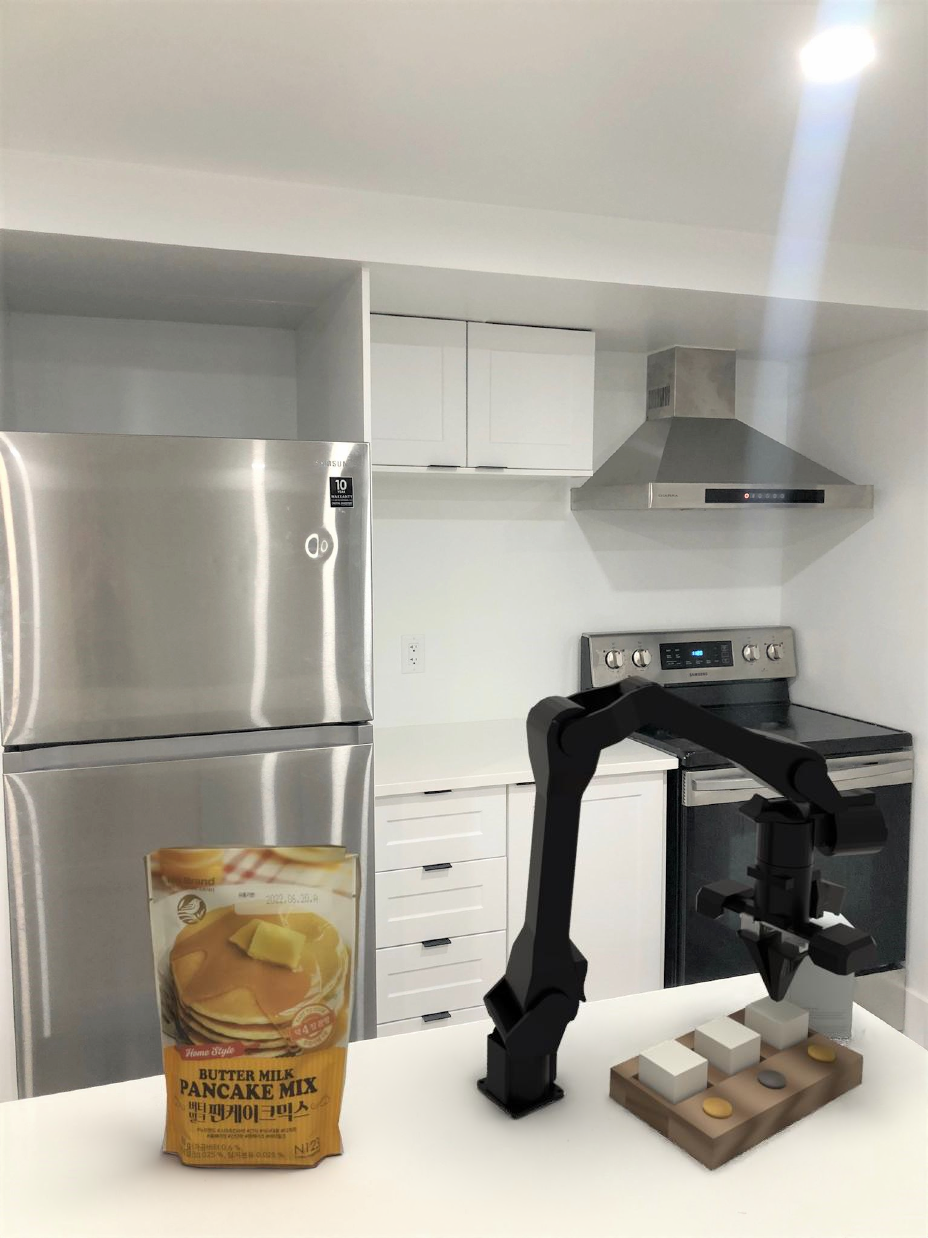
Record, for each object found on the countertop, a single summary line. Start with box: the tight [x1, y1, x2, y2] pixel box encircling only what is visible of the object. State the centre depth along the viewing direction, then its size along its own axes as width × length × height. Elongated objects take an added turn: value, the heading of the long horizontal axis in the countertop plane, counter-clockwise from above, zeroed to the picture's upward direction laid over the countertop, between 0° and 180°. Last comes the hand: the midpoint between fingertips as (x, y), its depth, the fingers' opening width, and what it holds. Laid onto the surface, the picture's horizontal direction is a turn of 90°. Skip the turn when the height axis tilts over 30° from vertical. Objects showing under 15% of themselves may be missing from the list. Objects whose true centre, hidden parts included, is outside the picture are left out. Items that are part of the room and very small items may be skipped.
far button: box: [744, 995, 809, 1051], centre depth 100 cm, size 5×5×3 cm
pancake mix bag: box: [142, 843, 362, 1170], centre depth 84 cm, size 7×19×28 cm, turn 90°
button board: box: [609, 1007, 864, 1171], centre depth 95 cm, size 23×13×3 cm, turn 125°
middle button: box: [694, 1014, 761, 1077], centre depth 96 cm, size 5×5×3 cm
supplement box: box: [784, 911, 855, 1039], centre depth 108 cm, size 7×7×13 cm
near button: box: [638, 1038, 708, 1106], centre depth 91 cm, size 5×5×3 cm
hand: (777, 1000), depth 100 cm, fingers closed
